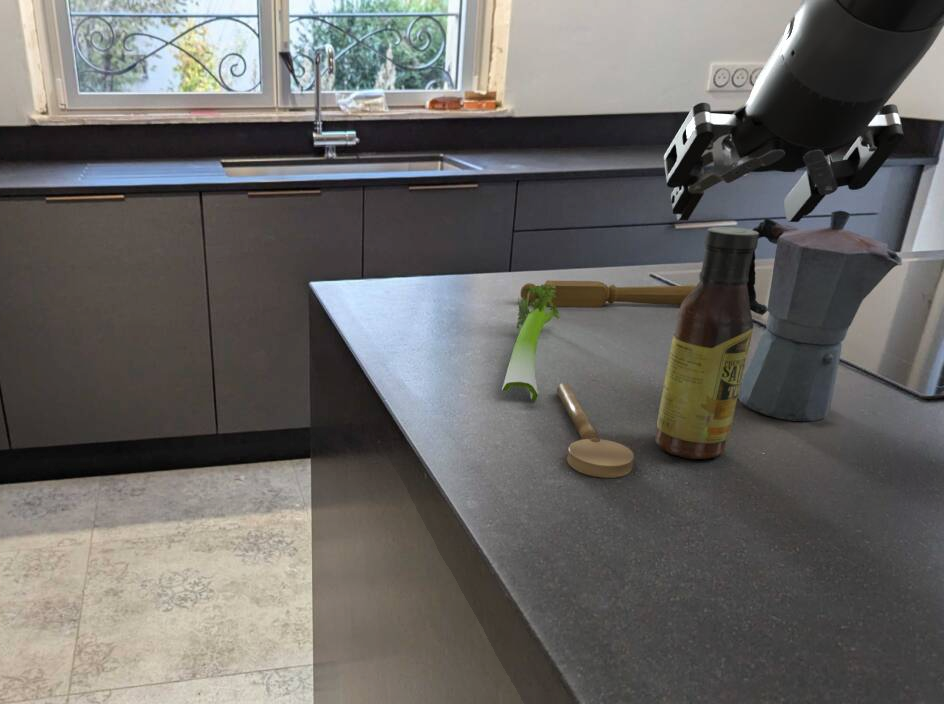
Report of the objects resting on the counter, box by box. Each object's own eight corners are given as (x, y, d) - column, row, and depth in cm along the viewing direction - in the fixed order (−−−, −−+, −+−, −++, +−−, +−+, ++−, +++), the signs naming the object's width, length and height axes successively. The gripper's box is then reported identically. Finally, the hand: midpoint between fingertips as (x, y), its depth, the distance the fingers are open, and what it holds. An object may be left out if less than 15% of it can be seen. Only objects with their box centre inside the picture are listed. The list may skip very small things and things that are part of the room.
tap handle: (732, 288, 118) (523, 285, 119) (728, 309, 120) (521, 305, 120) (724, 283, 121) (520, 280, 122) (720, 303, 122) (518, 300, 123)
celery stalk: (483, 412, 88) (511, 315, 113) (548, 427, 87) (562, 326, 112) (495, 361, 85) (521, 273, 110) (563, 376, 84) (573, 283, 109)
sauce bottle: (717, 469, 73) (768, 241, 64) (645, 452, 76) (685, 232, 67) (730, 442, 78) (779, 228, 69) (662, 428, 81) (701, 221, 72)
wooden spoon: (535, 392, 89) (536, 380, 88) (587, 393, 89) (589, 381, 88) (574, 477, 71) (576, 462, 70) (639, 478, 71) (642, 464, 70)
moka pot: (829, 441, 78) (891, 226, 69) (684, 392, 89) (722, 202, 81) (876, 418, 83) (938, 215, 74) (733, 375, 94) (773, 194, 86)
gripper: (735, 97, 49) (648, 251, 64) (982, 99, 48) (834, 254, 63) (720, 1, 51) (639, 171, 66) (955, 1, 51) (819, 173, 66)
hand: (735, 212), depth 65 cm, fingers open, 8 cm apart
